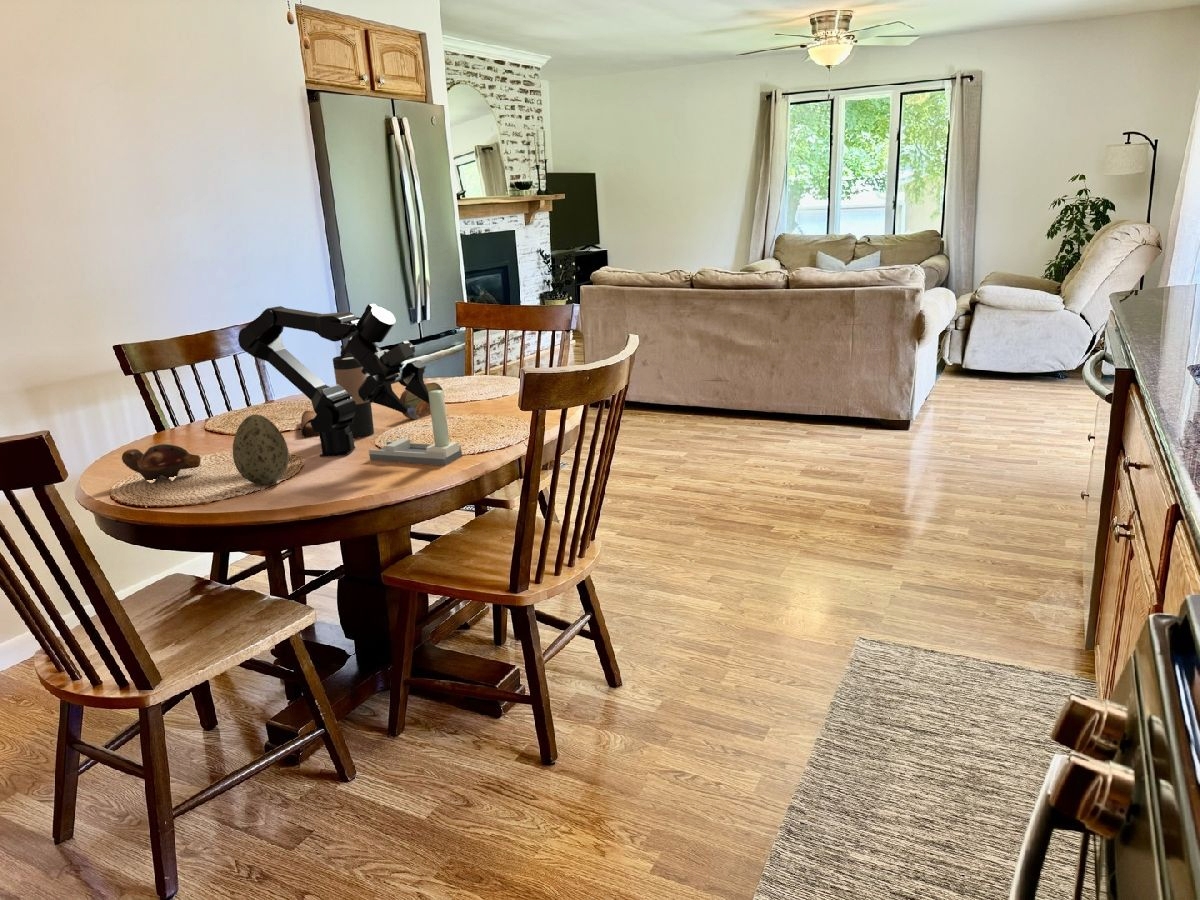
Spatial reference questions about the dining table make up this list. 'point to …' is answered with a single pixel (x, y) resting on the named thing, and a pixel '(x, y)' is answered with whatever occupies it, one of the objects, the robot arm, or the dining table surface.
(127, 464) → the decorative turtle
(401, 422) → the dining table surface
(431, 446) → the slider with handle
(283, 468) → the decorative egg
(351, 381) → the travel mug
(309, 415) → the sunglasses case
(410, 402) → the mottled brown rounded slab
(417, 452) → the track
